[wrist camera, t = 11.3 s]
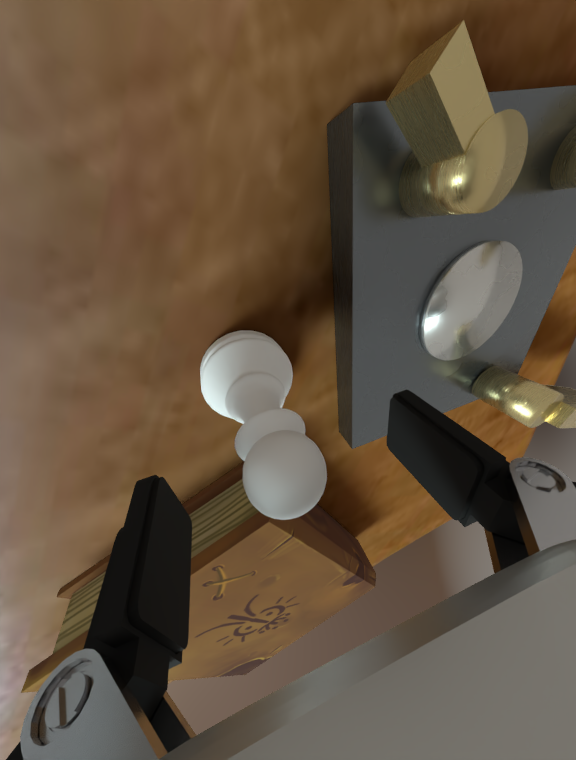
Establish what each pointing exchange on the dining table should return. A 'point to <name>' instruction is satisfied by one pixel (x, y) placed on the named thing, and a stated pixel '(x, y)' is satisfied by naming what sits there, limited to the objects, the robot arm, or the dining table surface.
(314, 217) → the dining table surface
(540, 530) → the robot arm
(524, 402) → the brass lever
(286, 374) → the chess pawn
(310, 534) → the diary
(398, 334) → the levelling plate
